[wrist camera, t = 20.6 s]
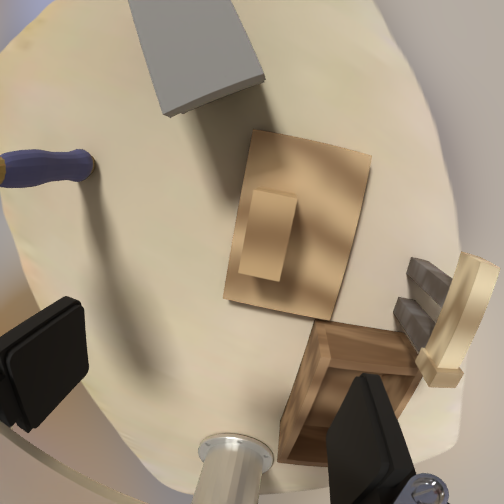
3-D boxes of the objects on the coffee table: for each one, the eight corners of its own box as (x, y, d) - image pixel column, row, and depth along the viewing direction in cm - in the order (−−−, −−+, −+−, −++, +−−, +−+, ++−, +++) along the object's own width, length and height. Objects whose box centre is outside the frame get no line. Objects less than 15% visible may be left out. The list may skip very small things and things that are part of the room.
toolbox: (355, 429, 38) (364, 476, 29) (280, 421, 39) (276, 471, 30) (429, 261, 31) (470, 291, 22) (336, 239, 31) (355, 266, 22)
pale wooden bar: (440, 363, 24) (455, 387, 20) (414, 361, 24) (429, 387, 20) (482, 257, 21) (507, 271, 17) (457, 250, 21) (482, 263, 17)
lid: (327, 311, 34) (336, 349, 26) (226, 290, 35) (209, 324, 27) (366, 156, 29) (391, 152, 21) (255, 132, 30) (244, 118, 22)
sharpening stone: (149, -19, 25) (112, -59, 15) (204, -43, 24) (179, -90, 13) (202, 131, 30) (162, 114, 20) (272, 105, 29) (263, 73, 18)
